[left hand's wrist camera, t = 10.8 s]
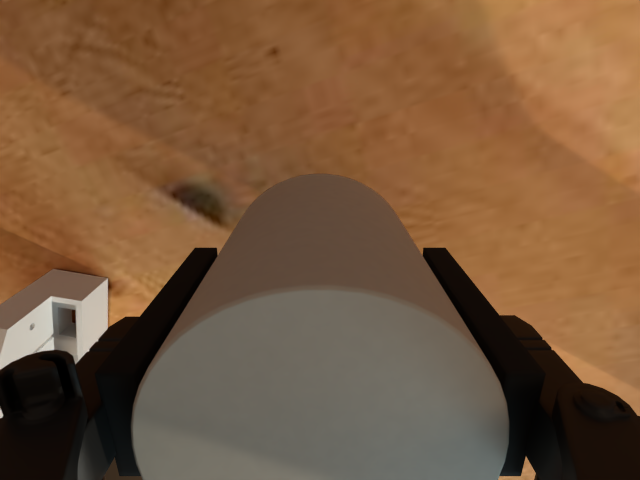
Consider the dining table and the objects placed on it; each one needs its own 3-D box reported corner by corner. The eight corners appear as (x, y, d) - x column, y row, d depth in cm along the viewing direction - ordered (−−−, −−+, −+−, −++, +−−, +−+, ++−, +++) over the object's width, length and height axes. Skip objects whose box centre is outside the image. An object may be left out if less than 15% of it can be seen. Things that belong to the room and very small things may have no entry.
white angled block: (37, 410, 28) (-70, 459, 20) (75, 271, 30) (-10, 260, 21) (89, 417, 28) (6, 469, 20) (124, 280, 30) (60, 272, 21)
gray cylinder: (285, 358, 18) (251, 608, 9) (198, 223, 16) (46, 386, 7) (433, 295, 17) (555, 513, 8) (363, 139, 14) (428, 211, 6)
